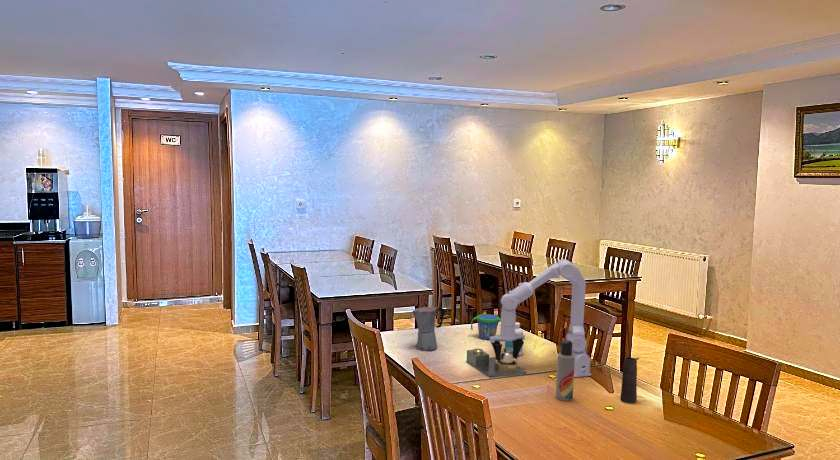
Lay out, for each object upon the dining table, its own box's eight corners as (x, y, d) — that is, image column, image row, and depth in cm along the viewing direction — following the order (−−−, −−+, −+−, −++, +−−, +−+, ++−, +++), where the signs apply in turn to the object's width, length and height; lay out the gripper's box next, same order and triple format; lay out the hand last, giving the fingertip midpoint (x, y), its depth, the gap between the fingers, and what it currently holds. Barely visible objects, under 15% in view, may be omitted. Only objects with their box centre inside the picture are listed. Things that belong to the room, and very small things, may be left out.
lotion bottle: (573, 401, 199) (576, 343, 198) (555, 400, 200) (558, 342, 199) (572, 396, 205) (575, 339, 203) (555, 394, 206) (558, 338, 204)
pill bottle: (521, 352, 256) (522, 321, 254) (522, 357, 248) (524, 325, 247) (504, 351, 256) (505, 320, 255) (504, 356, 249) (506, 324, 248)
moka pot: (406, 346, 259) (408, 301, 257) (438, 343, 265) (439, 299, 264) (415, 352, 250) (417, 306, 249) (448, 349, 257) (449, 303, 255)
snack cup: (505, 336, 280) (506, 315, 279) (502, 342, 270) (503, 320, 269) (472, 333, 284) (473, 312, 283) (468, 339, 274) (469, 317, 273)
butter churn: (645, 398, 205) (650, 318, 202) (646, 407, 196) (651, 324, 193) (617, 394, 208) (622, 315, 205) (617, 403, 199) (621, 321, 196)
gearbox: (526, 373, 227) (527, 358, 227) (489, 377, 221) (490, 362, 221) (501, 358, 246) (501, 344, 245) (466, 361, 240) (467, 347, 239)
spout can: (515, 368, 230) (515, 351, 230) (504, 369, 228) (504, 352, 228) (508, 364, 235) (508, 347, 234) (497, 366, 233) (498, 348, 232)
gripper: (519, 321, 237) (517, 354, 238) (486, 323, 231) (485, 357, 233) (528, 325, 230) (526, 359, 231) (495, 328, 225) (493, 362, 226)
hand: (506, 359), depth 232 cm, fingers open, 7 cm apart
